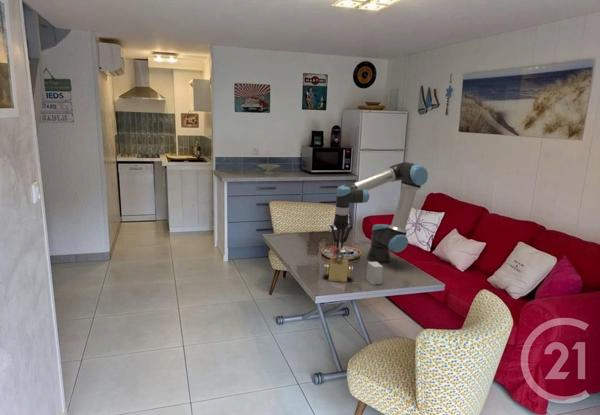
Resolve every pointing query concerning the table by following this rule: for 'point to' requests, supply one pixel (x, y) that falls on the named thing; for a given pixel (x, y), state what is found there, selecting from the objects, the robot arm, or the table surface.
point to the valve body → (338, 270)
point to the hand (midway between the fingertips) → (338, 253)
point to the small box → (374, 273)
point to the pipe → (351, 270)
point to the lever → (337, 253)
